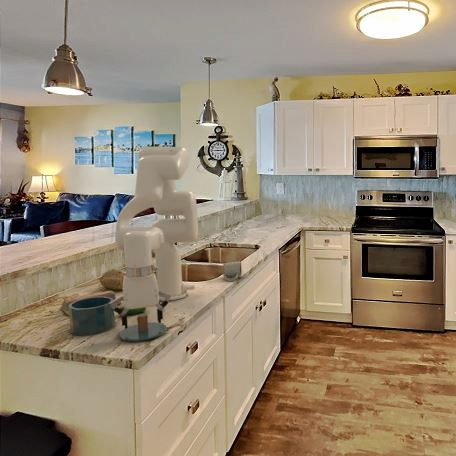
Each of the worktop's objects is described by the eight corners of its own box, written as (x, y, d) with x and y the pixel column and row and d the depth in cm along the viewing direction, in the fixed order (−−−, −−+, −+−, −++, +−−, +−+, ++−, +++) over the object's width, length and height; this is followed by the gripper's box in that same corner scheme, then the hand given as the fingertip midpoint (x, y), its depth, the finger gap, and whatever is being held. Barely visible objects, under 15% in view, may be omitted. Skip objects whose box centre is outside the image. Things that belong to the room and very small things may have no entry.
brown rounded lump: (103, 285, 187) (91, 288, 168) (106, 267, 188) (95, 269, 169) (134, 288, 190) (126, 291, 171) (137, 271, 191) (129, 273, 172)
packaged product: (67, 303, 143) (59, 297, 150) (68, 316, 144) (60, 309, 151) (120, 292, 156) (111, 286, 163) (121, 304, 157) (112, 298, 164)
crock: (114, 318, 143) (112, 294, 141) (115, 330, 132) (113, 305, 130) (72, 324, 137) (70, 299, 136) (69, 338, 126) (67, 311, 125)
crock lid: (163, 323, 138) (162, 305, 137) (169, 337, 126) (168, 318, 125) (118, 330, 132) (117, 311, 131) (120, 346, 120) (118, 326, 119)
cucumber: (145, 310, 150) (145, 302, 150) (146, 313, 147) (146, 304, 147) (117, 314, 146) (117, 306, 146) (118, 317, 143) (117, 308, 143)
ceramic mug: (224, 275, 198) (224, 260, 197) (242, 275, 199) (241, 259, 198) (221, 282, 188) (221, 265, 187) (240, 281, 189) (239, 265, 187)
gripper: (167, 265, 134) (170, 315, 136) (107, 271, 126) (111, 325, 128) (170, 270, 127) (173, 323, 130) (107, 277, 119) (112, 333, 122)
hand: (143, 324), depth 129 cm, fingers open, 9 cm apart
